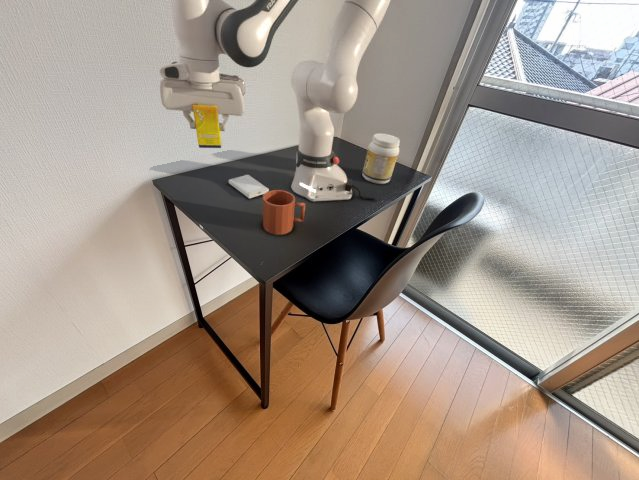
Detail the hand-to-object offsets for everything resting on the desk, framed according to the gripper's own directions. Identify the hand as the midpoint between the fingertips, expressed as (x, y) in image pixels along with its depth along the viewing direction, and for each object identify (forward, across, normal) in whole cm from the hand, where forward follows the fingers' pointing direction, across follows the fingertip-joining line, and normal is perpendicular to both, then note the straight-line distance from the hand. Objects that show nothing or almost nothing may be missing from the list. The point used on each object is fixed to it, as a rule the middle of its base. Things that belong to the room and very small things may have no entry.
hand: (208, 129), depth 75 cm
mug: (+21, -21, +16) cm, 34 cm away
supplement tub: (+21, -61, -20) cm, 68 cm away
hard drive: (+21, -10, -6) cm, 24 cm away
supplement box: (+4, 0, 0) cm, 4 cm away
